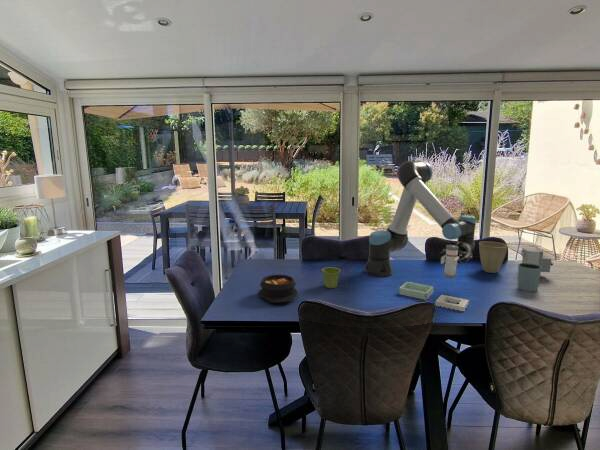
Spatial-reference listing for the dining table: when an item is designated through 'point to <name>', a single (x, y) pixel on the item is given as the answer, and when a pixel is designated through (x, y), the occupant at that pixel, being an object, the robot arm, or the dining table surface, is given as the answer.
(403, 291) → the parts tray
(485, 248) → the plant pot
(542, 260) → the circuit breaker
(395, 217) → the robot arm
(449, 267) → the fuse
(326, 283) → the plant pot
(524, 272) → the teal cylinder
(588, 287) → the dining table surface
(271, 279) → the casserole
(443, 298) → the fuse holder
